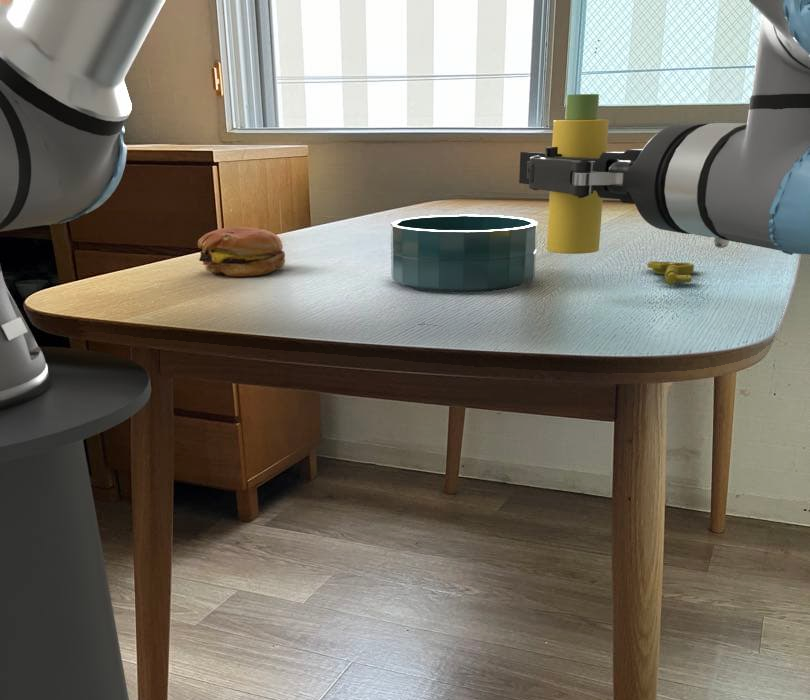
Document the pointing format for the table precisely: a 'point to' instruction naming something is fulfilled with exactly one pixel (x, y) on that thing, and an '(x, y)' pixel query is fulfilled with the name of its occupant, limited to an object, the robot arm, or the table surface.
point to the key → (673, 271)
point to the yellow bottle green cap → (569, 215)
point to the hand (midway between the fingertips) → (549, 166)
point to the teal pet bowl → (463, 252)
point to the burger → (241, 251)
